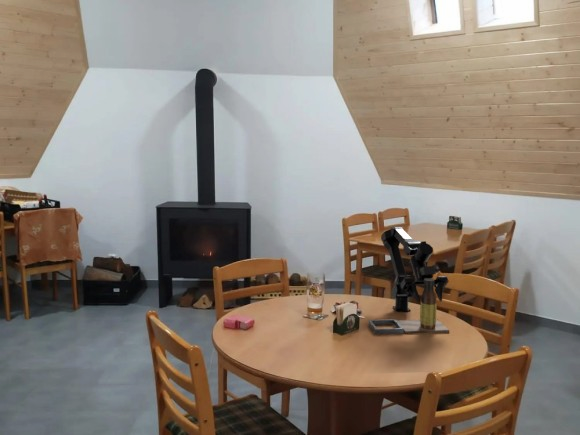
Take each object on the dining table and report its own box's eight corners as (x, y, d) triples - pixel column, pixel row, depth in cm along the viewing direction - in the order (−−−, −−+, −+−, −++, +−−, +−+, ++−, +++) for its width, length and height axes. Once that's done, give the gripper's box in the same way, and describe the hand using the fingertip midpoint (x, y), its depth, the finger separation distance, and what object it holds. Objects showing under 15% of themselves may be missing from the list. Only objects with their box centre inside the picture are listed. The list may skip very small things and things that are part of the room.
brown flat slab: (395, 322, 213) (395, 320, 213) (436, 321, 215) (437, 319, 215) (405, 333, 200) (405, 331, 200) (449, 332, 202) (449, 330, 202)
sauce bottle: (428, 323, 210) (430, 276, 207) (439, 328, 204) (441, 279, 201) (415, 325, 206) (418, 278, 204) (426, 330, 201) (429, 281, 198)
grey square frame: (368, 324, 210) (368, 319, 210) (395, 323, 211) (395, 319, 211) (375, 334, 199) (375, 329, 199) (403, 333, 200) (403, 328, 200)
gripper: (404, 258, 204) (414, 292, 194) (447, 256, 207) (460, 290, 198) (396, 272, 212) (405, 306, 203) (437, 271, 216) (449, 304, 206)
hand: (430, 301), depth 202 cm, fingers open, 9 cm apart
